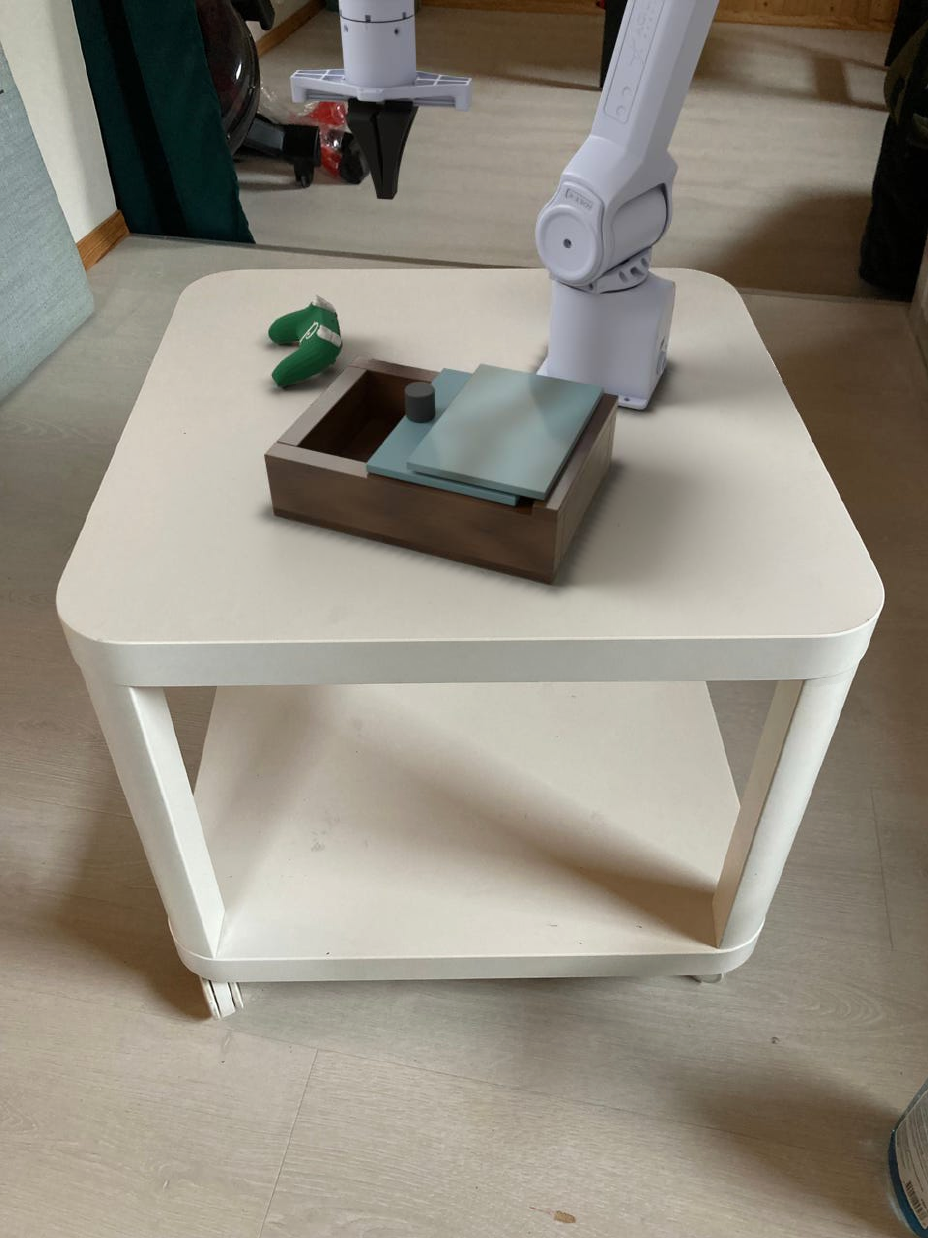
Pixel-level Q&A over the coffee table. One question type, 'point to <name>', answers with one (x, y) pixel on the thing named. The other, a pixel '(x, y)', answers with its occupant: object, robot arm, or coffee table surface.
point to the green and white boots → (307, 341)
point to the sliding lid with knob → (420, 417)
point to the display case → (452, 465)
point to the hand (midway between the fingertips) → (387, 195)
